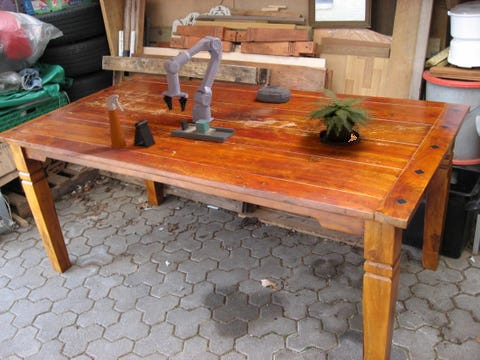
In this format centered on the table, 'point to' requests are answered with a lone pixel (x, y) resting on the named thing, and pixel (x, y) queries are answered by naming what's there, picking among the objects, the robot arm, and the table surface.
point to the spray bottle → (115, 123)
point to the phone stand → (143, 135)
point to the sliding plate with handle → (193, 128)
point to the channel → (218, 135)
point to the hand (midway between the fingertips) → (177, 110)
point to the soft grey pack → (273, 94)
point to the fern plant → (340, 120)
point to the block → (202, 126)
